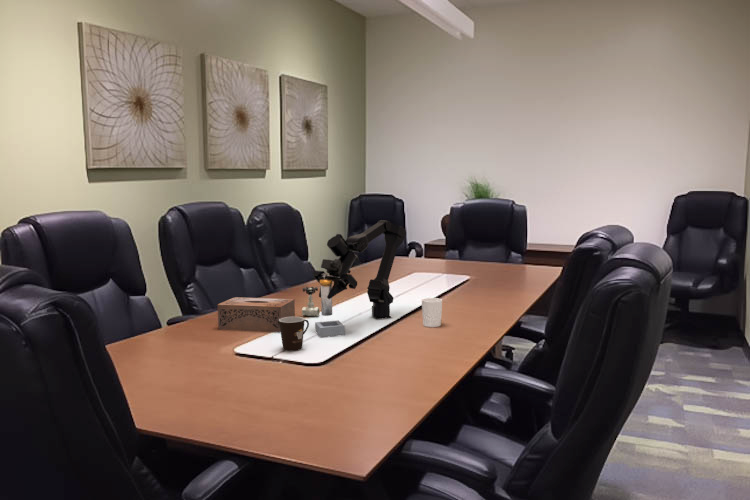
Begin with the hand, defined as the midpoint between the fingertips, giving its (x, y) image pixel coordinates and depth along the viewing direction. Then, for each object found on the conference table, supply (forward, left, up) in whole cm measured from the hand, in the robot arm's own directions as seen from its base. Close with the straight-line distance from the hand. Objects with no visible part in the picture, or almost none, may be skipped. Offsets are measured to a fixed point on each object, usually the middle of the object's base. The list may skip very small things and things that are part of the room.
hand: (323, 297), depth 221 cm
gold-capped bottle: (-1, -1, -7) cm, 7 cm away
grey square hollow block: (-2, 0, -13) cm, 14 cm away
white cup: (-42, +2, -14) cm, 44 cm away
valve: (-1, -30, -14) cm, 33 cm away
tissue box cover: (+22, -20, -14) cm, 33 cm away
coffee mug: (+13, +15, -14) cm, 24 cm away
